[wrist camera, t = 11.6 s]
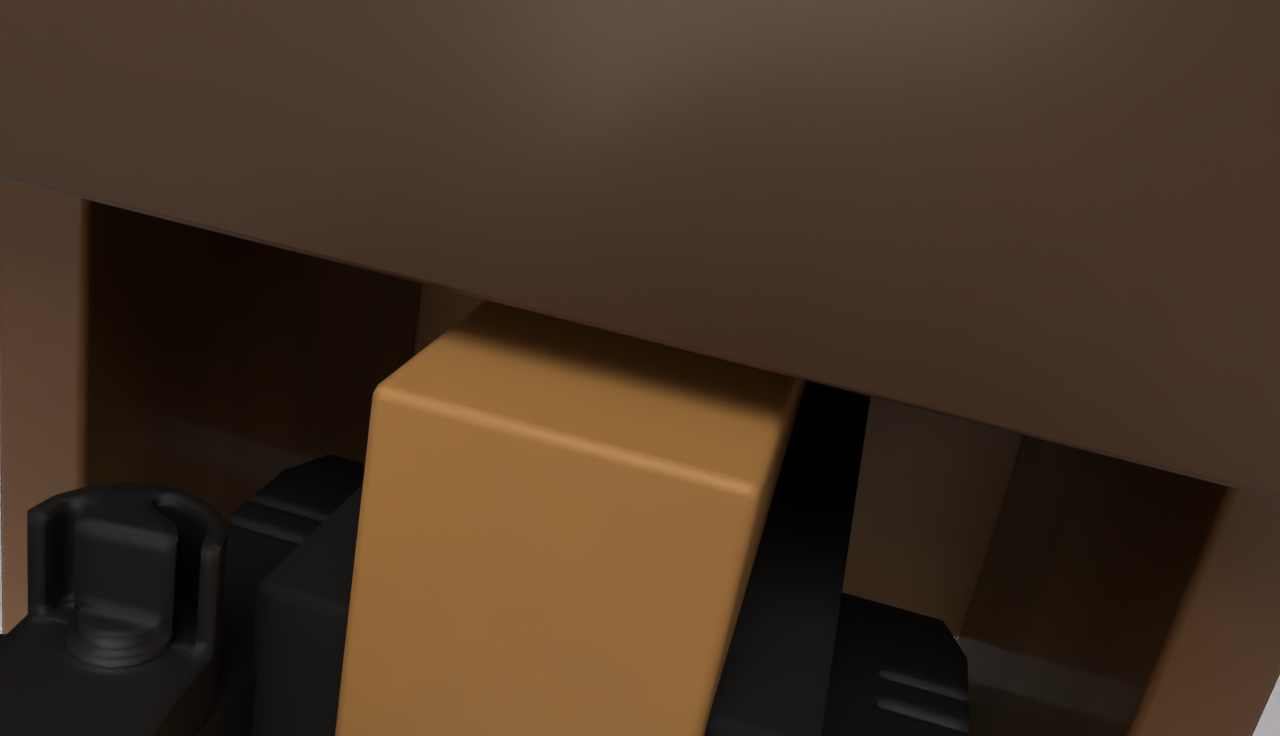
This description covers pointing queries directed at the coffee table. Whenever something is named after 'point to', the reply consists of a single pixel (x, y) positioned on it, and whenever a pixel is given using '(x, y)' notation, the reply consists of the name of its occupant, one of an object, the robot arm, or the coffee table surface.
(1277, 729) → the coffee table surface
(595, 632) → the orange rectangular block
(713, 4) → the cabinet
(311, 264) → the drawer
